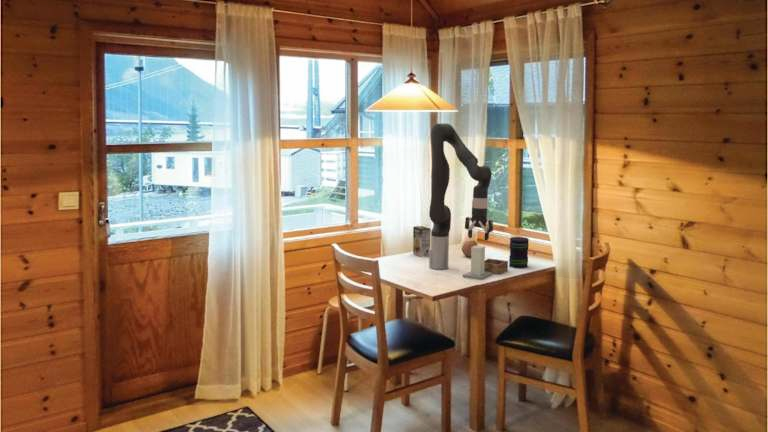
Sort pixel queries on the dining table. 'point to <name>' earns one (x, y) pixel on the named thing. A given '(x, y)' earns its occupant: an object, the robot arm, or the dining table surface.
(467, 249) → the onion
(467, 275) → the blue-grey square panel
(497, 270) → the crate
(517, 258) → the dark blue cylinder
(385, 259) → the dining table surface
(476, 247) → the tea tin
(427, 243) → the coffee box
